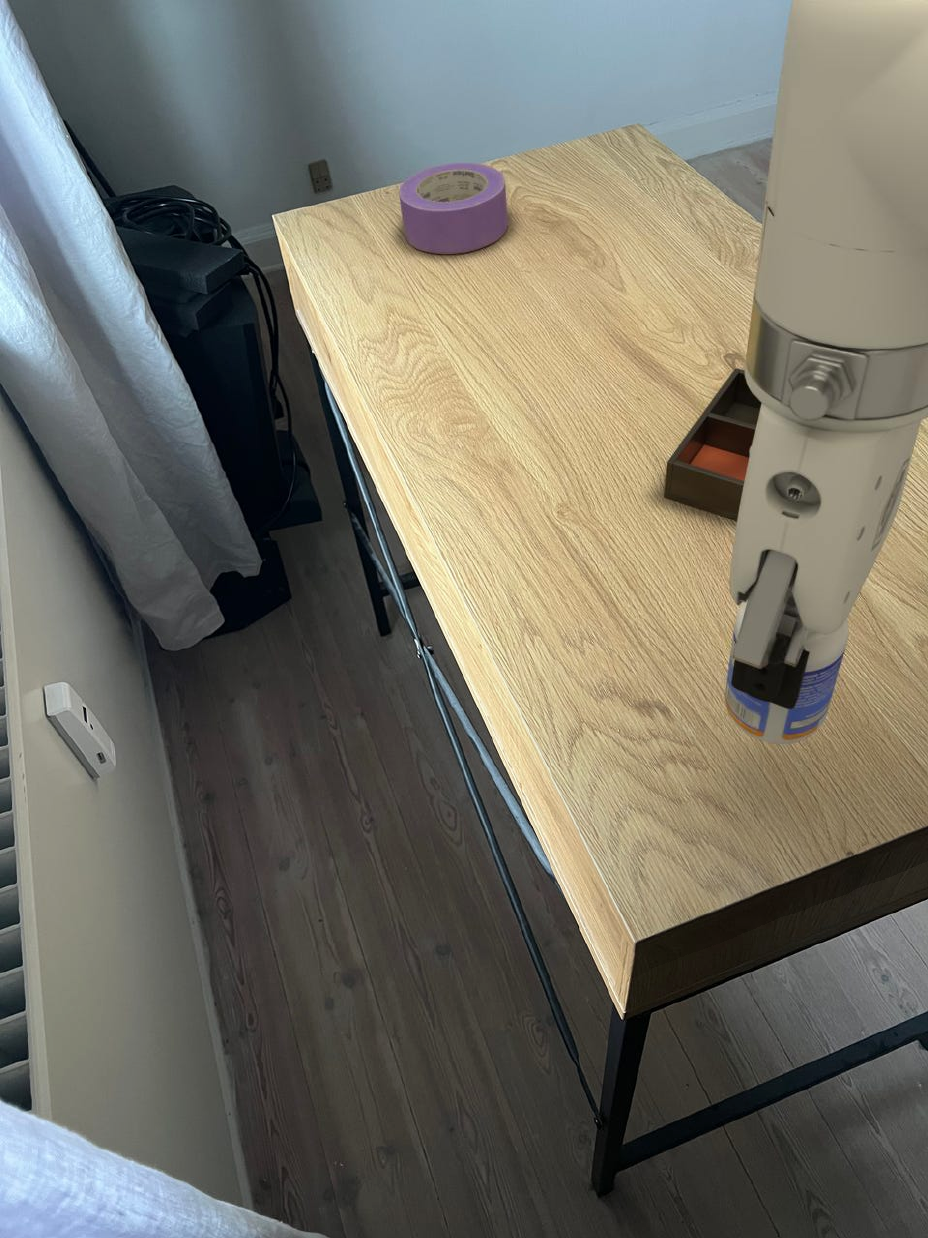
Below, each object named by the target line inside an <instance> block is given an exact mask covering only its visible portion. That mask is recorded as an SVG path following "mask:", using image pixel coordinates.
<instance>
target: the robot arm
mask: <svg viewBox="0 0 928 1238" xmlns="http://www.w3.org/2000/svg"><path fill="white" fill-rule="evenodd" d="M782 52H783V53H782V61H781V71H780V79H779V85H778V93H777V102H776V109H775V110H776V111H775V117H774V118H775V119H774V125H773V135H772V142H771V151H770V157H769V158H770V159H769V167H768V176H767V183H766V189H765V190H766V191H765V200H764V207H763V215H762V224H761V233H760V240H759V249H758V257H757V265H756V271H755V273H756V275H755V279H754V281H755V282H754V290H753V297H752V298H753V299H752V308H751V314H750V324H749V331H748V341H747V347H746V354H745V355H746V356H745V361H744V370H745V378H746V381H747V384H748V386H749V388H750V390H751V391H752V393H753V394H754V395H755V396H756V397H757V398H758V400H759V401H760V402H762V404H761V408H760V412H759V417H758V421H757V425H756V430H755V434H754V439H753V444H752V446H751V448H750V457H749V462H748V467H747V472H746V477H745V482H744V487H743V492H742V497H741V503H740V508H739V513H738V519H737V520H736V525H735V532H734V538H733V544H732V551H731V557H730V567H729V581H728V583H729V585H728V587H729V589H728V590H729V594H730V596H731V598H732V601H733V602H734V603H735V605H736V606H741V604H742V603H743V602H745V603H746V602H747V605H746V609H745V613H744V617H743V620H742V624H741V628H740V632H739V635H738V639H737V642H736V645H735V648H734V651H733V655H732V659H735V660H734V667H733V673H732V680H731V684H732V686H733V687H734V688H735V689H737V690H739V691H742V692H744V693H747V694H748V695H750V696H751V697H753V698H756V699H758V700H761V701H764V702H770V703H773V704H776V705H778V706H781V707H783V708H786V709H793V708H794V707H795V705H796V702H797V700H798V698H799V694H800V690H801V686H802V682H803V678H804V674H805V670H806V666H807V662H808V658H809V653H810V652H809V651H806V650H805V649H804V645H805V642H806V639H807V636H808V633H809V630H811V631H814V632H818V633H821V634H823V635H827V634H830V633H833V632H835V631H836V630H838V629H839V628H840V627H841V626H842V625H843V624H844V622H845V620H846V619H847V618H848V617H849V615H850V613H851V611H852V609H853V608H854V605H855V603H856V602H857V599H858V597H859V596H860V594H861V592H862V589H863V587H864V585H865V583H866V582H867V579H868V577H869V575H870V573H871V571H872V569H873V567H874V565H875V563H876V560H877V559H878V557H879V555H880V552H881V550H882V548H883V546H884V543H885V541H886V540H887V537H888V536H889V533H890V531H891V529H892V526H893V524H894V521H895V519H896V516H897V514H898V511H899V508H900V505H901V501H902V497H903V493H904V490H905V486H906V482H907V478H908V473H909V468H910V465H911V461H912V458H913V453H914V450H915V445H916V442H917V438H918V434H919V431H920V427H921V424H922V421H923V420H925V419H927V418H928V0H791V3H790V7H789V13H788V20H787V25H786V32H785V37H784V45H783V51H782ZM793 587H794V589H793V592H791V590H792V588H793ZM747 600H748V601H747ZM783 614H785V615H788V616H791V617H794V618H796V621H795V624H794V628H793V631H792V634H791V637H790V636H787V635H784V634H782V633H779V632H777V629H778V626H779V624H780V621H781V618H782V615H783ZM847 620H848V619H847Z"/></svg>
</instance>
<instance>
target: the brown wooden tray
mask: <svg viewBox="0 0 928 1238" xmlns="http://www.w3.org/2000/svg"><path fill="white" fill-rule="evenodd" d="M761 404H762V402H760V401H759V400H758V398H757V397H756V396H755V395H754V394H753V393H752V391H751V390H750V388H749V386H748V384H747V381H746V378H745V369H741V368H738V367H735V368H734V369H733V371H732V372H731V373H730V375H729V376H728V378H727V379H726V380H725V381H724V383H723V384H722V385H721V387H720V389H719V390H718V391H717V392H716V394H715V395H714V396H713V398H712V399H711V401H710V402H709V404H708V405H707V406H706V408H705V409H704V410H703V412H702V413H701V414H700V416H699V417H698V418H697V420H696V421H695V423H694V424H693V425H692V427H691V428H690V429H689V431H688V432H687V433H686V435H685V436H684V438H683V439H682V440H681V442H680V443H679V445H678V446H677V447H676V449H675V450H674V452H672V454H671V456H670V457H669V459H667V462H666V468H665V469H666V470H665V482H664V491H663V497H664V498H666V499H668V500H672V501H674V502H679V503H681V504H684V505H688V506H691V507H694V508H696V509H699V510H703V511H707V512H709V513H712V514H715V515H719V516H722V517H724V518H728V519H731V520H734V521H737V519H738V513H739V508H740V503H741V497H742V492H743V487H744V482H745V477H746V472H747V467H748V462H749V457H750V448H751V446H752V444H753V439H754V434H755V430H756V425H757V421H758V417H759V412H760V408H761Z"/></svg>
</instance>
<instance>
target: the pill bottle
mask: <svg viewBox="0 0 928 1238" xmlns="http://www.w3.org/2000/svg"><path fill="white" fill-rule="evenodd" d="M793 589H794V587H793V588H792V590H791V592H793ZM747 601H748V600H747ZM746 605H747V602H746V603H745V602H742V603H741V604H740V605H739V607H738V610H737V612H736V615H735V619H734V625H733V630H732V639H731V645H730V653H729V661H728V666H727V667H728V668H727V675H726V683H725V689H724V705H725V709H726V711H727V714H728V716H729V718H730V720H731V721H732V722H733V723H734V725H735V726H736V727H737V728H738V729H739V730H741V731H742V732H744V733H745V734H746V735H748V736H750V737H751V738H753V739H756V740H758V741H762V742H765V743H768V744H775V745H790V744H795V743H799V742H801V741H804V740H807V739H808V738H810V737H812V736H813V735H815V734H816V733H817V731H818V730H819V729H820V728H821V727H822V725H823V724H824V723H825V720H826V718H827V715H828V712H829V709H830V705H831V702H832V698H833V696H834V695H833V694H834V691H835V687H836V685H837V680H838V677H839V672H840V670H841V665H842V662H843V658H844V655H845V653H846V648H847V643H848V640H849V631H850V627H849V621H848V619H846V620H845V622H844V624H843V625H842V626H841V627H840V628H839V629H838V630H836V631H835V632H833V633H830V634H827V635H823V634H821V633H818V632H814V631H811V630H809V633H808V636H807V639H806V642H805V645H804V649H805V650H806V651H809V652H810V653H809V658H808V662H807V666H806V670H805V674H804V678H803V682H802V686H801V690H800V694H799V698H798V700H797V702H796V705H795V707H794V708H793V709H786V708H783V707H781V706H778V705H776V704H773V703H770V702H764V701H761V700H758V699H756V698H753V697H751V696H750V695H748V694H747V693H744V692H742V691H739V690H737V689H735V688H734V687H733V686H732V684H731V680H732V673H733V667H734V660H735V659H732V655H733V651H734V648H735V645H736V642H737V639H738V635H739V632H740V628H741V624H742V620H743V617H744V613H745V609H746ZM795 621H796V618H794V617H791V616H788V615H785V614H783V615H782V618H781V621H780V624H779V626H778V629H777V632H779V633H782V634H784V635H787V636H790V637H791V634H792V631H793V628H794V624H795Z"/></svg>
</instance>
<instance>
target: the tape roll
mask: <svg viewBox="0 0 928 1238" xmlns="http://www.w3.org/2000/svg"><path fill="white" fill-rule="evenodd" d="M506 189H507V188H506V180H505V177H504V176H503V173H501V172H500V171H499V170H497V169H496V168H494V167H492V166H490V165H486V164H480V163H473V162H456V163H455V162H453V163H446V164H440V165H436V166H432V167H429V168H426V169H423V170H421V171H419V172H416V173H414V174H412V175H411V176H409V177H408V178H406V179H405V180H404V182H403V183H401V186H400V187H399V189H398V195H399V203H400V210H401V217H402V224H403V229H404V236H405V239H406V241H407V243H408V244H409V245H410V246H412V247H413V248H414V249H417V250H419V251H422V252H426V253H430V254H438V255H455V254H462V253H469V252H472V251H476V250H480V249H483V248H485V247H488V246H490V245H492V244H493V243H495V242H497V241H498V240H500V239H501V237H503V236H504V235H505V233H506V232H507V229H508V226H509V225H508V223H509V222H508V209H507V208H508V206H507V192H506V191H507V190H506Z"/></svg>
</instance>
